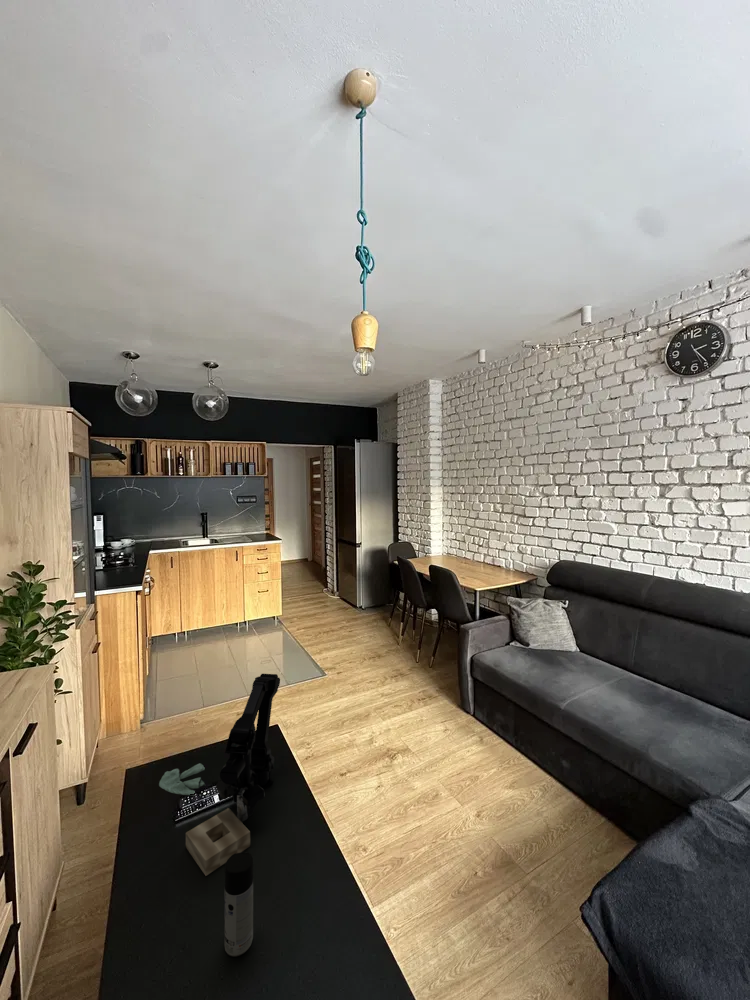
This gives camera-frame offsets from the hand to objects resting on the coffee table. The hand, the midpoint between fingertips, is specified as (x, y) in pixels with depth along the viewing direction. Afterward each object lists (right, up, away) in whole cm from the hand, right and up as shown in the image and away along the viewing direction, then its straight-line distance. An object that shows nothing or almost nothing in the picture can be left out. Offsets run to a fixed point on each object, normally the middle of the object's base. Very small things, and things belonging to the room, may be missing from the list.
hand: (242, 808), depth 140 cm
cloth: (-26, -3, +18) cm, 32 cm away
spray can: (+11, -4, -39) cm, 40 cm away
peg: (0, -3, 0) cm, 3 cm away
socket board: (-4, -3, -11) cm, 13 cm away
